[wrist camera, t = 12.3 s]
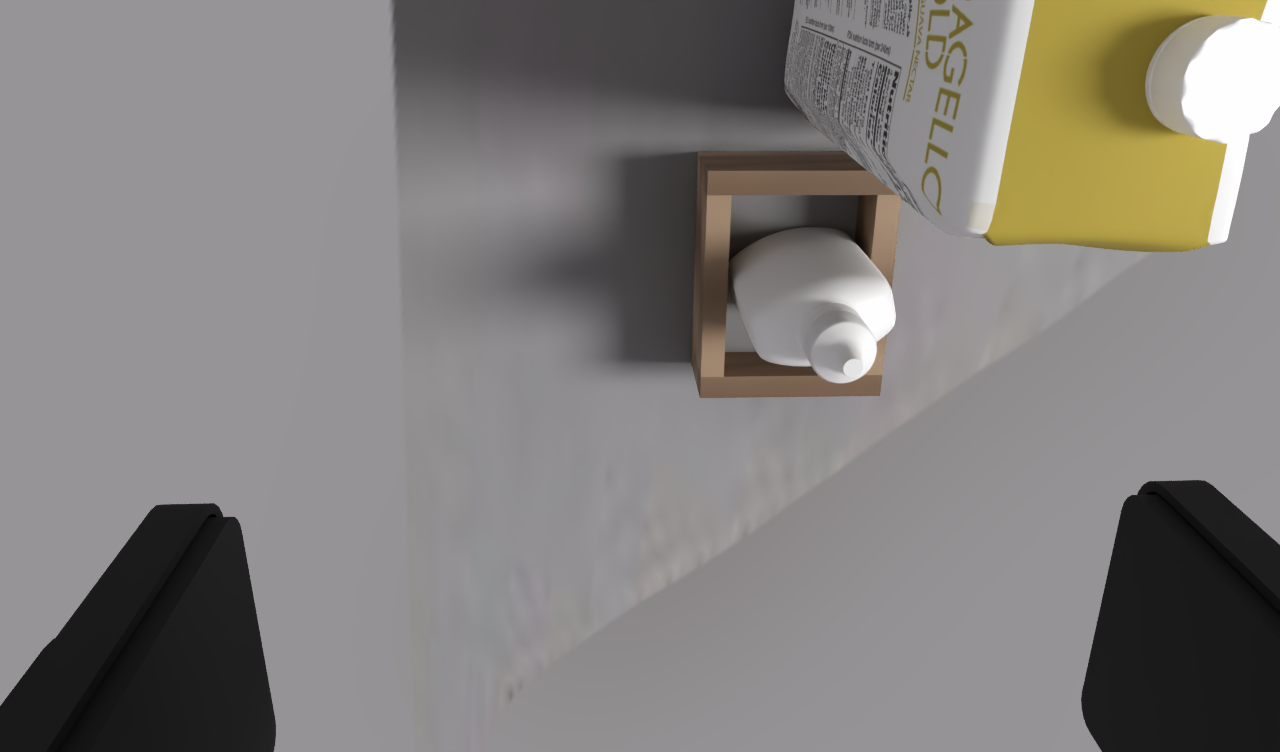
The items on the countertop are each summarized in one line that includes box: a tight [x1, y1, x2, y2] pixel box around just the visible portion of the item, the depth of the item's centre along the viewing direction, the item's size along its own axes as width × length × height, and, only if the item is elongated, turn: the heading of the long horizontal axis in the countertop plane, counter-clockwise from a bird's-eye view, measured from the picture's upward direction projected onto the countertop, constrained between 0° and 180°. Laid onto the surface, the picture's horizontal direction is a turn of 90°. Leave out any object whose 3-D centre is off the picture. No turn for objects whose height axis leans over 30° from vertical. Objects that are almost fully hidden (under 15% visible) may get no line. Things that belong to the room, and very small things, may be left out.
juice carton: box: [784, 0, 1280, 252], centre depth 32 cm, size 9×8×24 cm
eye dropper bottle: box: [728, 227, 896, 384], centre depth 41 cm, size 4×6×12 cm
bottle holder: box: [692, 152, 901, 398], centre depth 45 cm, size 10×8×4 cm
